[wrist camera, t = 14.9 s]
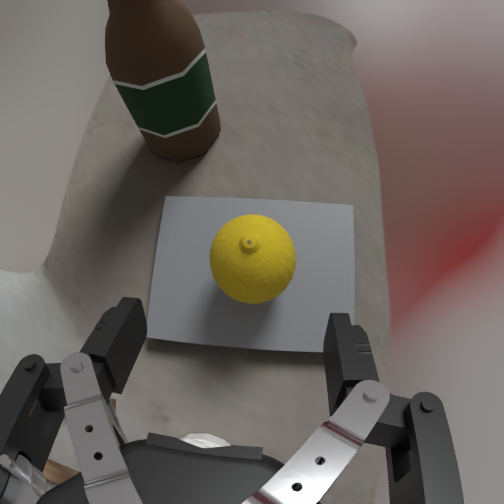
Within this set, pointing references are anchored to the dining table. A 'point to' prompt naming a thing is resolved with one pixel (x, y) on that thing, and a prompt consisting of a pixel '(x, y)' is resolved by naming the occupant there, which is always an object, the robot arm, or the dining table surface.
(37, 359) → the robot arm
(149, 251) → the dining table surface
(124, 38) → the beer bottle
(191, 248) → the gray board
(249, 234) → the lemon
